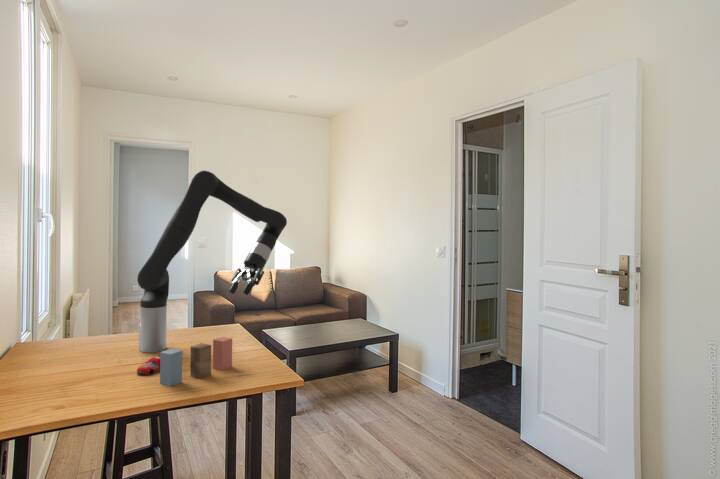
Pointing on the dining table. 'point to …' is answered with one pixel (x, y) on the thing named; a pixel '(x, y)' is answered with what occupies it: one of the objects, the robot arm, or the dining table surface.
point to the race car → (149, 366)
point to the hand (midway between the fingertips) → (238, 293)
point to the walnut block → (200, 361)
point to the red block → (222, 353)
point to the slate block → (170, 367)
